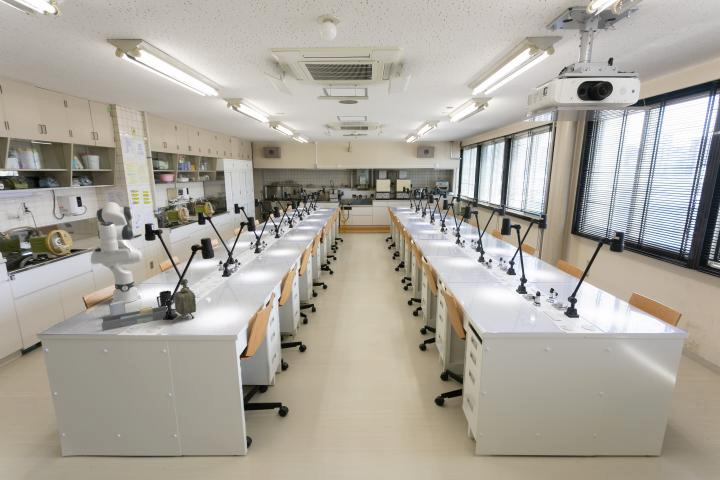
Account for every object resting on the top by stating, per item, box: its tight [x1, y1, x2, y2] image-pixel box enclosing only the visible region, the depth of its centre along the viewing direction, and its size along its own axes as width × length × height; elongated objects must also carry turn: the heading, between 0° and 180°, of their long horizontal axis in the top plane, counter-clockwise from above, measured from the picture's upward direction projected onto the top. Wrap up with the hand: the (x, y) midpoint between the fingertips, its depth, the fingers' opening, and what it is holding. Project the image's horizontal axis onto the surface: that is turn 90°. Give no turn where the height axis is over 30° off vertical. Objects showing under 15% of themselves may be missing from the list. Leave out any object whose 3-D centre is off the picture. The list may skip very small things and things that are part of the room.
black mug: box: [156, 290, 172, 307], centre depth 235 cm, size 10×7×12 cm
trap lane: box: [101, 306, 167, 331], centre depth 214 cm, size 10×35×5 cm, turn 126°
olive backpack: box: [173, 280, 197, 319], centre depth 219 cm, size 14×9×25 cm, turn 44°
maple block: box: [138, 306, 153, 315], centre depth 217 cm, size 5×7×4 cm
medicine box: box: [108, 301, 127, 316], centre depth 224 cm, size 8×4×9 cm, turn 141°
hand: (112, 268), depth 213 cm, fingers closed
